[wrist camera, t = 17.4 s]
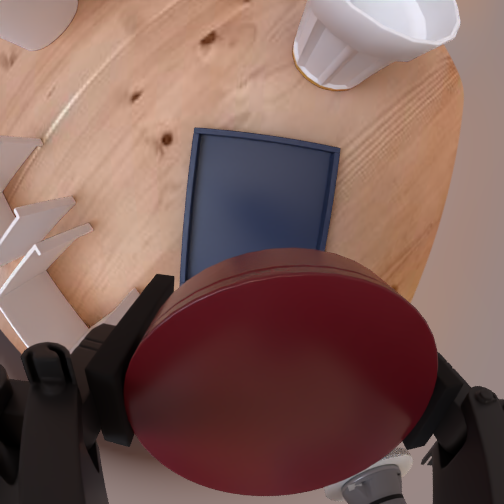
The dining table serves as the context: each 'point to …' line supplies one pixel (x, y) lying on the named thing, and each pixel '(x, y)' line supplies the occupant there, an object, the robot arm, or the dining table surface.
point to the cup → (367, 37)
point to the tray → (254, 196)
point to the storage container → (39, 261)
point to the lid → (279, 373)
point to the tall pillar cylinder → (35, 21)
